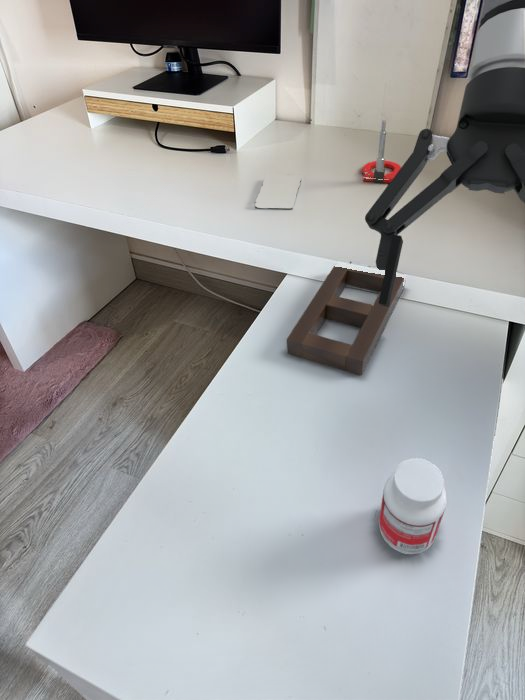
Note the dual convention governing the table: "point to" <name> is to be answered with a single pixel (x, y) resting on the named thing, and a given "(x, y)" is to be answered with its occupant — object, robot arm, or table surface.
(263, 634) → the table surface
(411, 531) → the pill bottle
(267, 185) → the table surface
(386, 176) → the tow hook
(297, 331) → the rack
